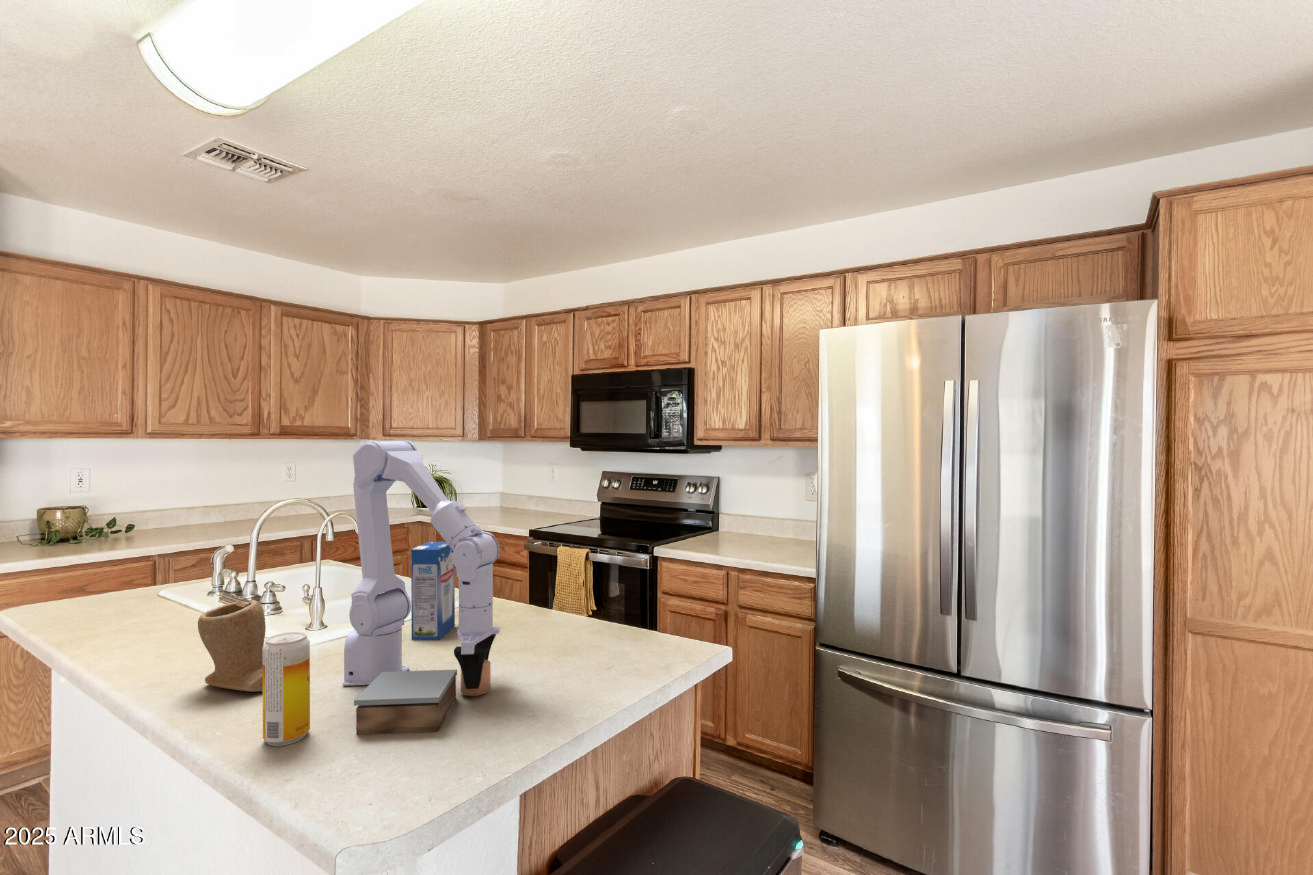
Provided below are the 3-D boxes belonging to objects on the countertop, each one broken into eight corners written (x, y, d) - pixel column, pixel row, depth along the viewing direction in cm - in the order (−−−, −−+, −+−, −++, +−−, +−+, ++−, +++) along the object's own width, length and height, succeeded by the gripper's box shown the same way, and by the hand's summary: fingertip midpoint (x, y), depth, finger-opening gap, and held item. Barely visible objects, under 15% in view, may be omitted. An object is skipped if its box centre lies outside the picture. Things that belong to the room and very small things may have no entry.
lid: (353, 705, 95) (353, 700, 95) (382, 676, 108) (382, 671, 108) (438, 702, 96) (438, 697, 96) (457, 674, 109) (457, 669, 109)
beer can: (317, 727, 98) (317, 630, 98) (296, 747, 92) (296, 643, 92) (277, 728, 98) (277, 631, 98) (253, 748, 92) (253, 644, 92)
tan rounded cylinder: (457, 696, 108) (457, 669, 108) (464, 684, 113) (464, 659, 113) (487, 695, 109) (487, 669, 109) (492, 683, 114) (492, 658, 114)
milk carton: (439, 640, 139) (439, 549, 139) (411, 640, 140) (411, 549, 139) (454, 626, 149) (454, 541, 149) (428, 626, 150) (428, 541, 149)
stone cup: (183, 691, 112) (182, 606, 112) (249, 668, 123) (249, 591, 123) (239, 706, 106) (238, 616, 106) (304, 681, 117) (303, 599, 117)
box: (356, 734, 96) (356, 708, 96) (383, 701, 108) (383, 677, 108) (438, 731, 97) (438, 705, 97) (455, 698, 109) (455, 675, 109)
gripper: (492, 615, 104) (492, 697, 104) (505, 592, 119) (505, 665, 119) (448, 616, 103) (448, 699, 104) (466, 593, 118) (466, 666, 118)
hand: (475, 681), depth 111 cm, fingers closed on tan rounded cylinder, 5 cm apart
